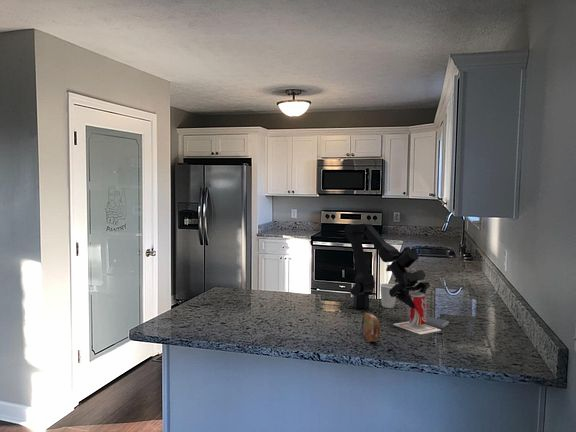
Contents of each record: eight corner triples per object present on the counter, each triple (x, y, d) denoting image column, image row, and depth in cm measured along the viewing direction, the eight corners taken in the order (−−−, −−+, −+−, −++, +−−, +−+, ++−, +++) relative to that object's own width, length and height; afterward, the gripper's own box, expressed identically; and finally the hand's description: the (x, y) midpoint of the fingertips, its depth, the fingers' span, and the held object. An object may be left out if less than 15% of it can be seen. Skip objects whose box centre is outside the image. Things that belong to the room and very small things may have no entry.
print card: (392, 324, 182) (392, 323, 182) (413, 321, 189) (413, 320, 189) (420, 334, 171) (420, 333, 171) (441, 330, 177) (441, 329, 177)
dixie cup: (385, 303, 219) (386, 282, 218) (400, 307, 213) (401, 285, 212) (375, 305, 213) (376, 284, 212) (390, 309, 207) (391, 287, 206)
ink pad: (415, 322, 187) (416, 319, 187) (422, 318, 194) (422, 315, 194) (442, 328, 181) (442, 325, 181) (448, 324, 187) (449, 321, 187)
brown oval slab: (360, 331, 170) (362, 309, 170) (368, 332, 171) (370, 310, 170) (371, 345, 155) (372, 321, 155) (380, 345, 156) (381, 321, 155)
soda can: (420, 328, 176) (420, 298, 174) (404, 323, 181) (404, 294, 179) (430, 323, 180) (430, 293, 179) (415, 318, 185) (415, 290, 184)
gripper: (396, 264, 177) (417, 298, 168) (428, 262, 187) (448, 294, 178) (380, 279, 184) (399, 313, 175) (412, 277, 194) (431, 309, 185)
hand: (420, 307), depth 178 cm, fingers closed on soda can, 7 cm apart
